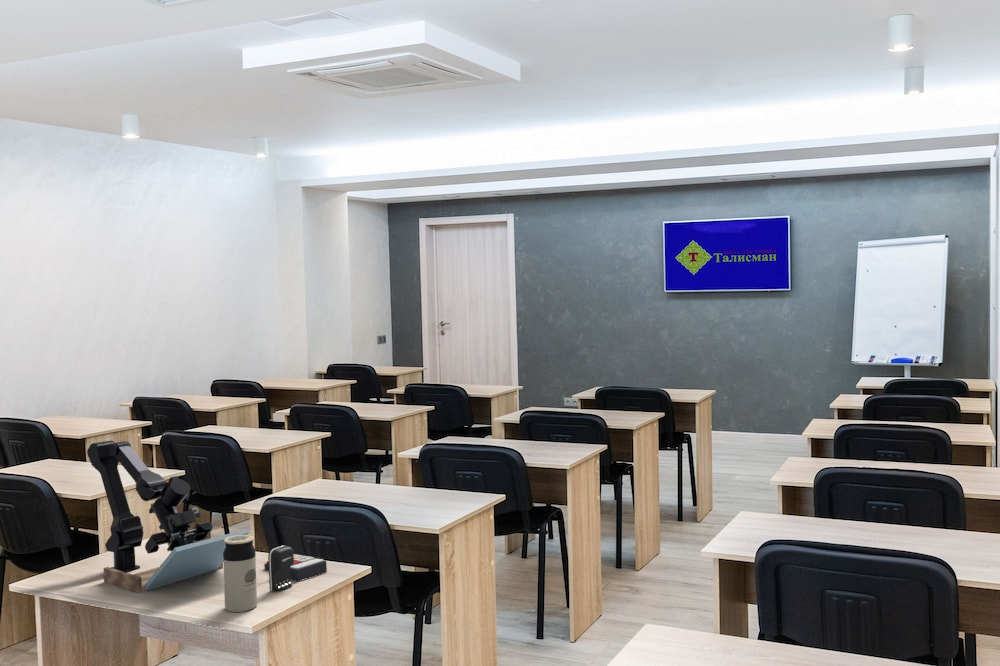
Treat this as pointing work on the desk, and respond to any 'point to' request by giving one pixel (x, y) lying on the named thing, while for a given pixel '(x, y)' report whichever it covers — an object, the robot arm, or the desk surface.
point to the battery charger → (280, 568)
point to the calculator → (305, 567)
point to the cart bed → (132, 578)
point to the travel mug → (240, 573)
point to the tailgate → (191, 560)
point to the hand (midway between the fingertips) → (192, 561)
